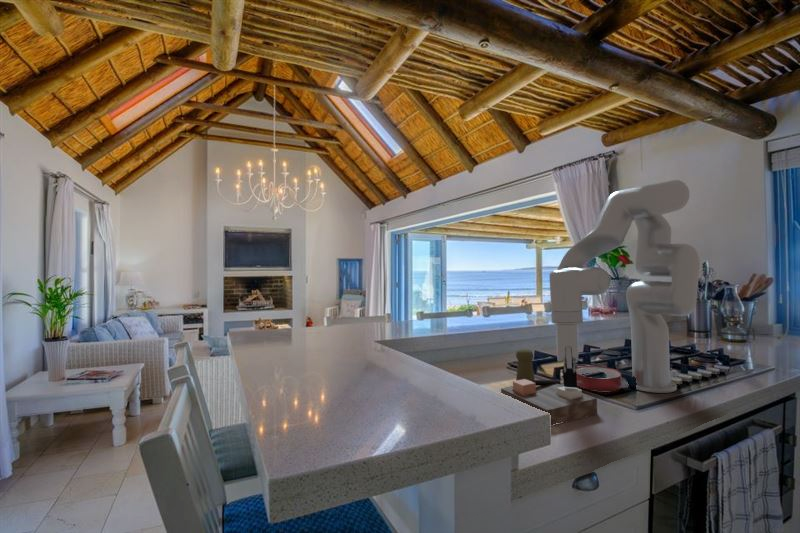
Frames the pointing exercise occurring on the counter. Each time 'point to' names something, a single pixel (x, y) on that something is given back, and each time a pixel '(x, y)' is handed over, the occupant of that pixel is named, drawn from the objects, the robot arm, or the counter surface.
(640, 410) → the counter surface
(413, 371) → the counter surface
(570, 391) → the cream key
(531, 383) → the terracotta key
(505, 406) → the counter surface
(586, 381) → the frying pan
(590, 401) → the brown wooden flat board
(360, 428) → the counter surface
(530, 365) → the olive brown rounded cylinder
